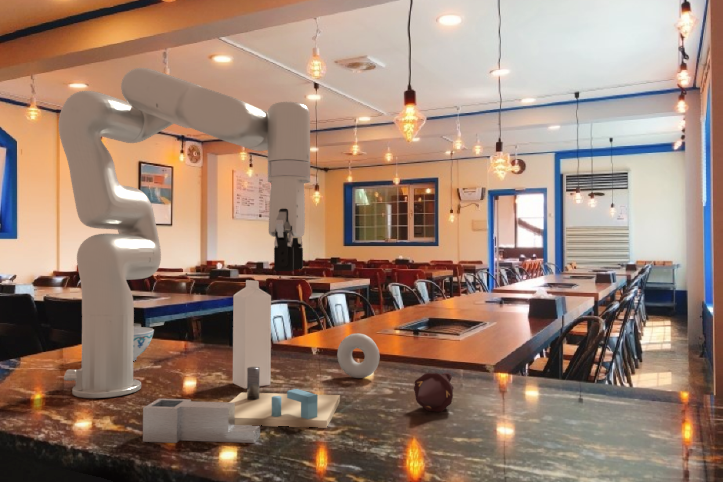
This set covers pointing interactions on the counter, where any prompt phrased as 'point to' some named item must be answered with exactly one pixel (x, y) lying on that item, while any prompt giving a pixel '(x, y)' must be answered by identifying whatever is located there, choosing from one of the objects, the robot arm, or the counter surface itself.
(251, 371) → the pintle
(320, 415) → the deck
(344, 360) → the donut
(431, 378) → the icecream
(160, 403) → the link
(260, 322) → the milk
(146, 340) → the chinaware
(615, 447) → the counter surface
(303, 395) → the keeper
